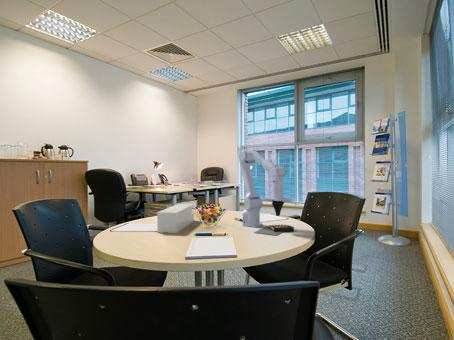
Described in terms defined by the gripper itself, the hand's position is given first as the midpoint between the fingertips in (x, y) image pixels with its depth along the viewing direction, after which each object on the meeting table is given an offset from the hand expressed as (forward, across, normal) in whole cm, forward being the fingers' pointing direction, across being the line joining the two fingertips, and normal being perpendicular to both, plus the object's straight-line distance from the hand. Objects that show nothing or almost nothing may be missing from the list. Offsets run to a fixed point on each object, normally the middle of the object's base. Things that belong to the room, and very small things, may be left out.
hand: (278, 215), depth 135 cm
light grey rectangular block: (+9, -56, -13) cm, 59 cm away
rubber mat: (+8, -4, 0) cm, 9 cm away
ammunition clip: (+7, +3, +1) cm, 8 cm away
